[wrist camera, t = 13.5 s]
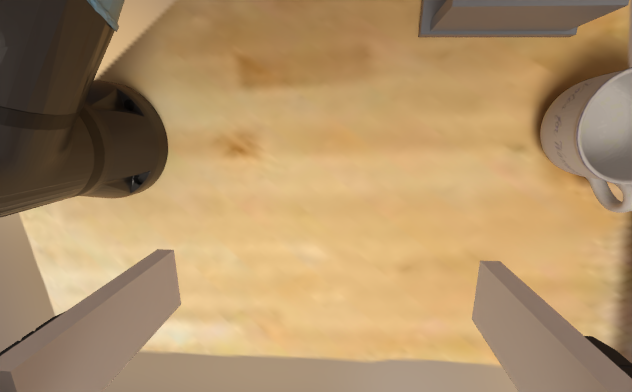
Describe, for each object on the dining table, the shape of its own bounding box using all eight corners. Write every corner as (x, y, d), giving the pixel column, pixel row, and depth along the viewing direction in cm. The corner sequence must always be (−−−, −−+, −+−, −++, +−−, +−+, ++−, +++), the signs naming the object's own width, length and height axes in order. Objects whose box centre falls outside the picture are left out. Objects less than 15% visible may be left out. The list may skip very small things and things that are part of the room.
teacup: (534, 78, 33) (591, 64, 25) (640, 76, 32) (733, 60, 24) (515, 197, 36) (561, 216, 29) (610, 198, 35) (684, 219, 28)
